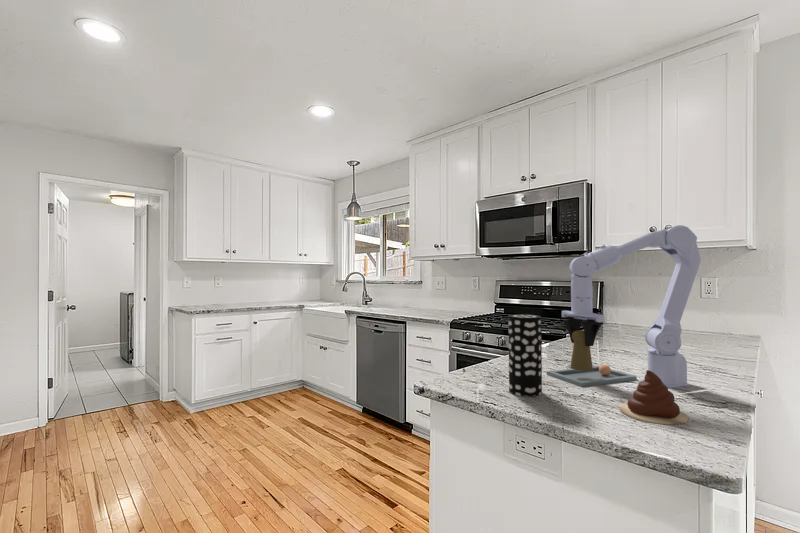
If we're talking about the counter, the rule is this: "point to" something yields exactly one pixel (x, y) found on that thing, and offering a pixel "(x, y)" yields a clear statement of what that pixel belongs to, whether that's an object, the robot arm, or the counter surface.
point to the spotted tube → (525, 355)
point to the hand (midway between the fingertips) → (582, 344)
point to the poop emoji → (653, 398)
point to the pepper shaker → (580, 352)
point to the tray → (590, 376)
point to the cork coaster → (655, 417)
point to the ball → (604, 370)
